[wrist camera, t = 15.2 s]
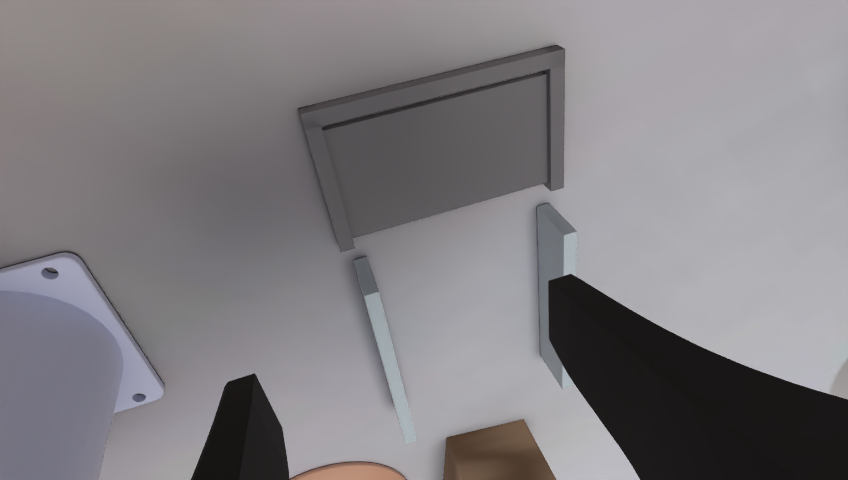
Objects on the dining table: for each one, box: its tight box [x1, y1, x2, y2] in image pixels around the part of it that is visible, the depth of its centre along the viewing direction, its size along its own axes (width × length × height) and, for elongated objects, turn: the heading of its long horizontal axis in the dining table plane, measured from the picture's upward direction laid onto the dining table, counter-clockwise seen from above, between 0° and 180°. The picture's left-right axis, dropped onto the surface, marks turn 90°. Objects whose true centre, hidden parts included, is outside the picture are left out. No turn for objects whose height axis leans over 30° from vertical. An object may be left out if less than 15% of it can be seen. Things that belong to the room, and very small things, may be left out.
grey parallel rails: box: [353, 203, 577, 444], centre depth 26 cm, size 9×10×2 cm
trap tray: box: [298, 45, 565, 252], centre depth 21 cm, size 10×6×1 cm, turn 99°
